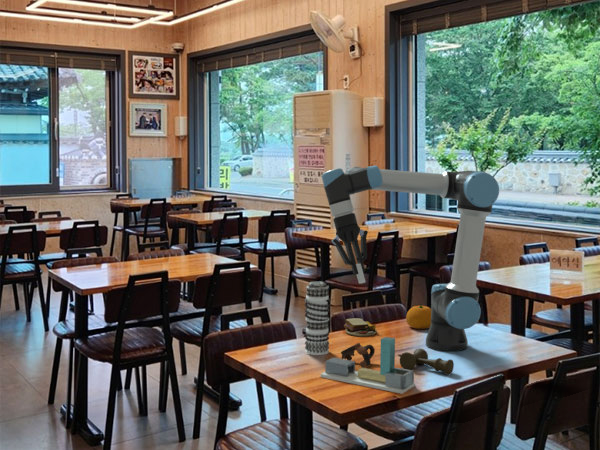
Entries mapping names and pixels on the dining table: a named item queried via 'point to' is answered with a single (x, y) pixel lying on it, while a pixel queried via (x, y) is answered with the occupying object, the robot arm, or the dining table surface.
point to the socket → (400, 378)
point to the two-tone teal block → (382, 362)
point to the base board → (364, 382)
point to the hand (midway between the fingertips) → (362, 282)
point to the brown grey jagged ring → (361, 350)
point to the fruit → (419, 317)
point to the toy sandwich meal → (359, 327)
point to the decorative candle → (317, 318)
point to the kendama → (425, 361)
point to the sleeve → (339, 367)
